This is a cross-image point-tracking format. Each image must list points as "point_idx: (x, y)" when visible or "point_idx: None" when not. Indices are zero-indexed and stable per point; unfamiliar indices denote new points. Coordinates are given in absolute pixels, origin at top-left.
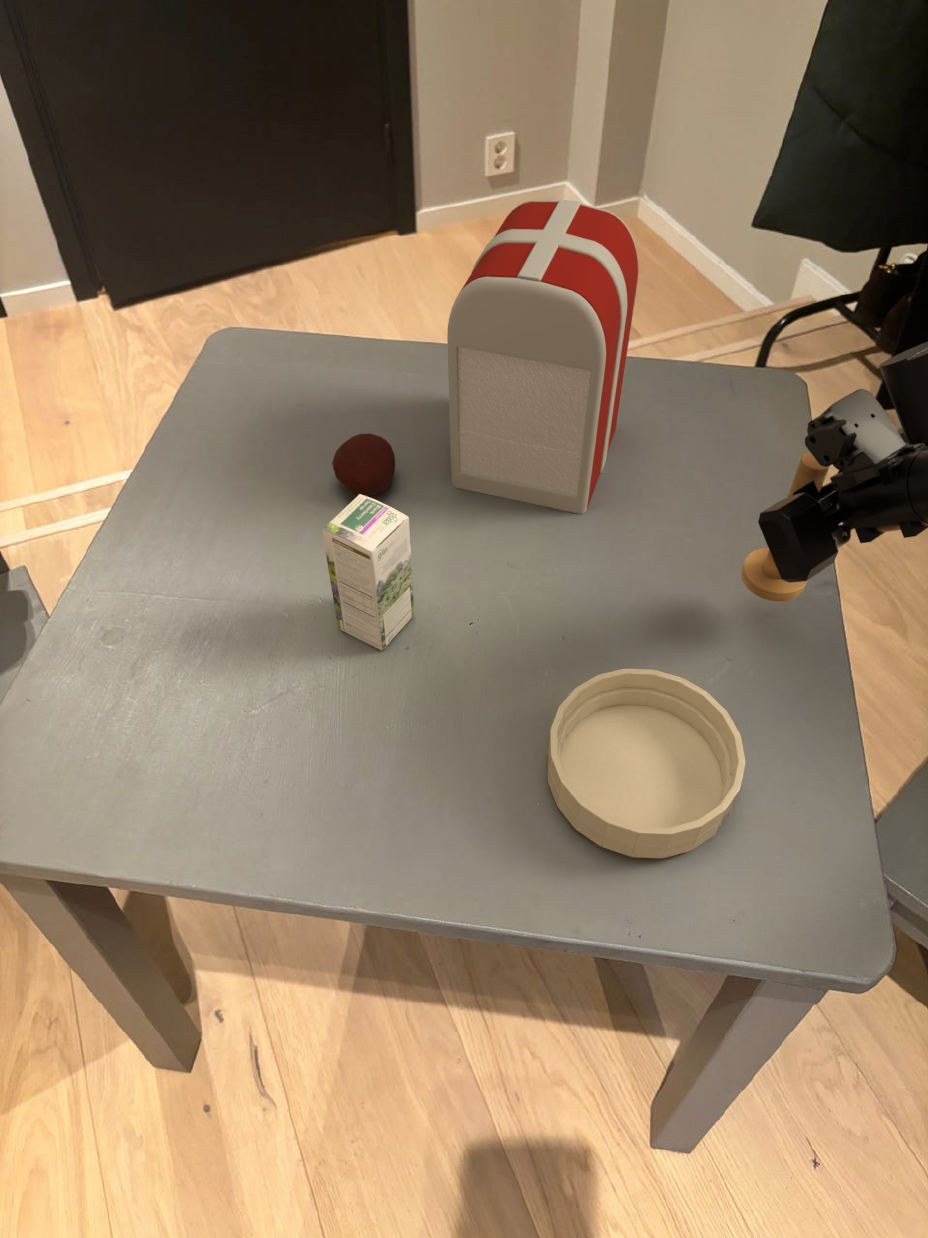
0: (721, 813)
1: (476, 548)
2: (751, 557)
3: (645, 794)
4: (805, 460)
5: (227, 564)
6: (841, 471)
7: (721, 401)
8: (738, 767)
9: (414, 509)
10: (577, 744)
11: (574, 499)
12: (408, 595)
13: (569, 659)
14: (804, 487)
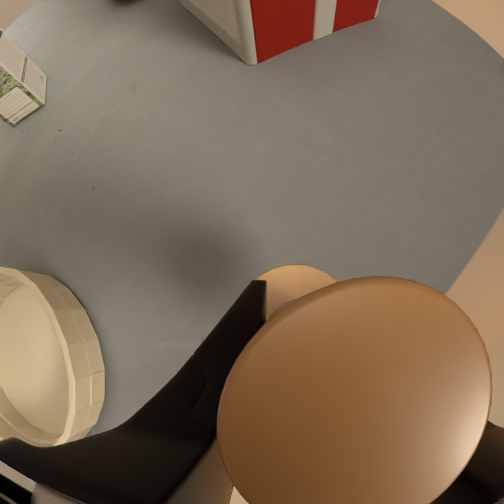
0: None
1: (131, 59)
2: (284, 273)
3: (28, 377)
4: (278, 372)
5: (34, 32)
6: (456, 487)
7: (487, 68)
8: None
9: (136, 14)
10: (18, 299)
11: (239, 45)
12: (19, 92)
13: (76, 215)
14: (58, 491)
